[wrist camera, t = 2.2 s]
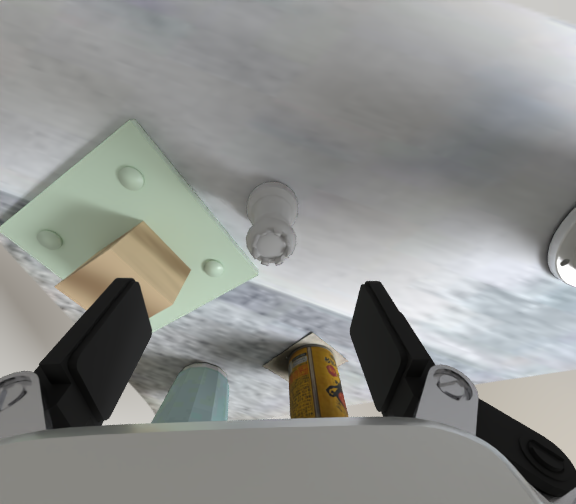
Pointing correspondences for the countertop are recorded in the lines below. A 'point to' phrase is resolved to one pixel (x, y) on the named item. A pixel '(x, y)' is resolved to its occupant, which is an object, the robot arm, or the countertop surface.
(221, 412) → the disposable coffee cup
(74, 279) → the oak brick
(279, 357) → the condiment
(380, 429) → the robot arm
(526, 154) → the countertop surface
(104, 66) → the countertop surface
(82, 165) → the build plate
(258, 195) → the rook chess piece
